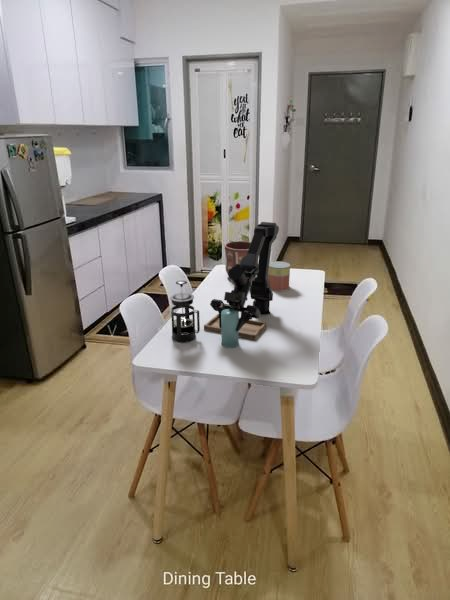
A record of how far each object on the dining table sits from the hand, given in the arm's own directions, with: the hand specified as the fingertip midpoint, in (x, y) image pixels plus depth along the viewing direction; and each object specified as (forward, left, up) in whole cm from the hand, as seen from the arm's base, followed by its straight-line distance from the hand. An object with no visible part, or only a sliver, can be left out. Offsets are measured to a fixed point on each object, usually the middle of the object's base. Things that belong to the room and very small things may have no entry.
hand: (228, 329), depth 160 cm
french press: (+15, -10, -7) cm, 19 cm away
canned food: (-38, -57, -7) cm, 69 cm away
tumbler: (-1, -1, -7) cm, 7 cm away
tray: (-6, -14, -7) cm, 17 cm away
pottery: (-23, -76, -7) cm, 80 cm away
